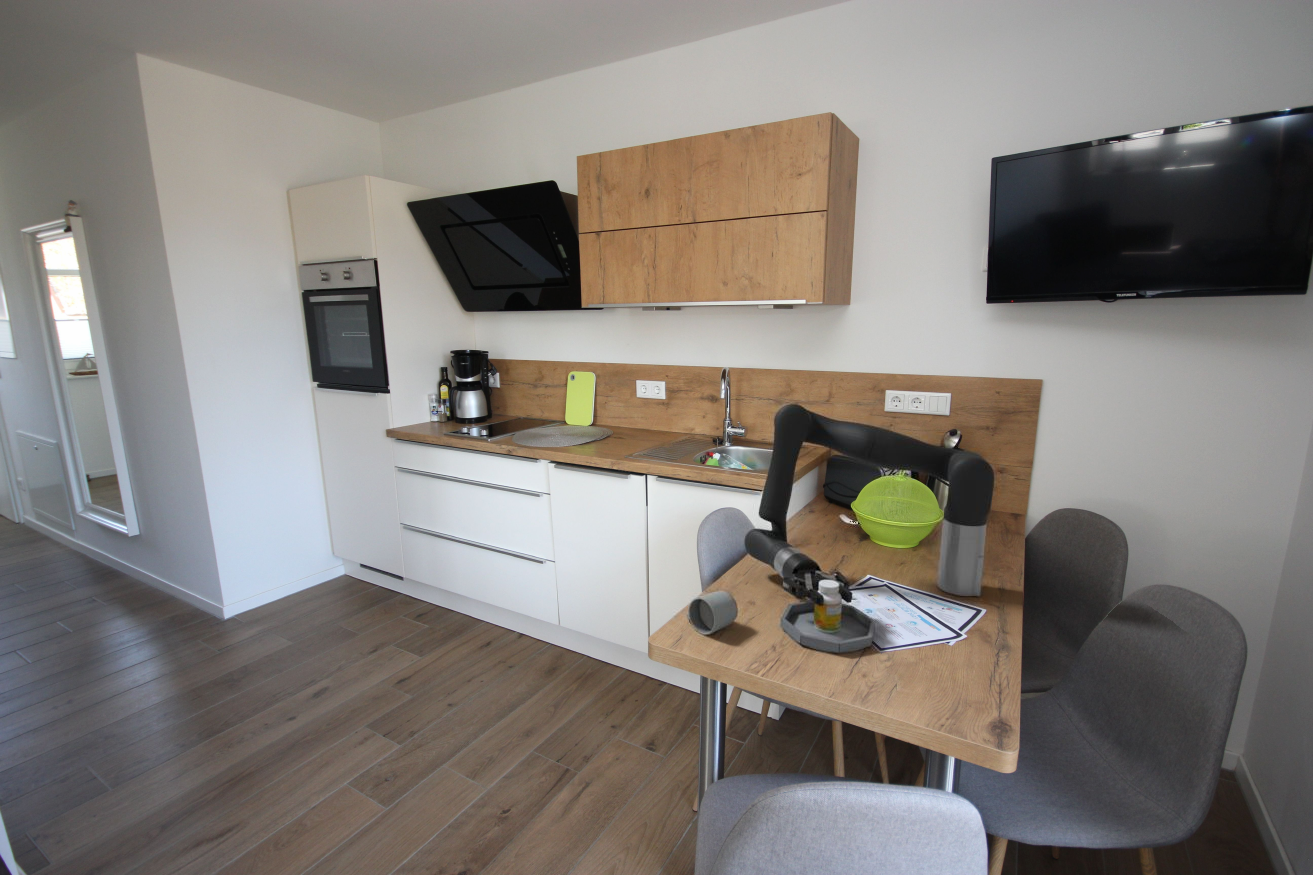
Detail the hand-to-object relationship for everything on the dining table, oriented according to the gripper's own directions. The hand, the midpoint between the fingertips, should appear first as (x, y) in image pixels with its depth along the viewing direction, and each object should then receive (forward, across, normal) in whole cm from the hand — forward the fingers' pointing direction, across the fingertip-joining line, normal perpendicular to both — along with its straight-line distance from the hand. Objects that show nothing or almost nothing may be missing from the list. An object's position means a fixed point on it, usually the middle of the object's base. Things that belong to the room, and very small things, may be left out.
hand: (836, 599), depth 122 cm
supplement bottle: (-3, 0, +8) cm, 8 cm away
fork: (-60, +49, +9) cm, 78 cm away
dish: (-2, 0, +8) cm, 8 cm away
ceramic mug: (-11, -23, +8) cm, 27 cm away
